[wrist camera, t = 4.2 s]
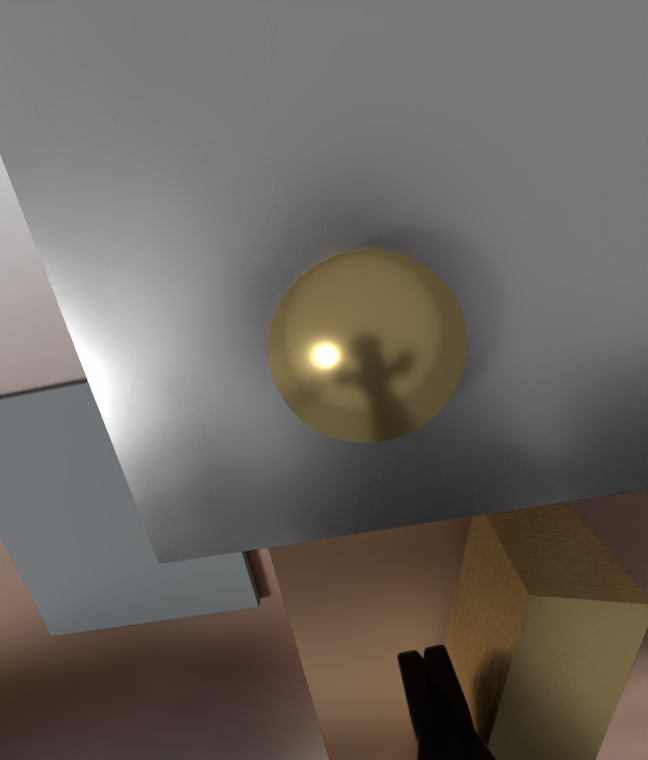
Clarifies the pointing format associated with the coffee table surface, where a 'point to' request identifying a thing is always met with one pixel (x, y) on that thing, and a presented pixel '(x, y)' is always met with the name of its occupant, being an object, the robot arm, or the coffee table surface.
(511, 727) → the lever
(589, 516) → the coffee table surface
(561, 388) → the grey squarish block
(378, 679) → the body
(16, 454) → the felt pad
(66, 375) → the coffee table surface
